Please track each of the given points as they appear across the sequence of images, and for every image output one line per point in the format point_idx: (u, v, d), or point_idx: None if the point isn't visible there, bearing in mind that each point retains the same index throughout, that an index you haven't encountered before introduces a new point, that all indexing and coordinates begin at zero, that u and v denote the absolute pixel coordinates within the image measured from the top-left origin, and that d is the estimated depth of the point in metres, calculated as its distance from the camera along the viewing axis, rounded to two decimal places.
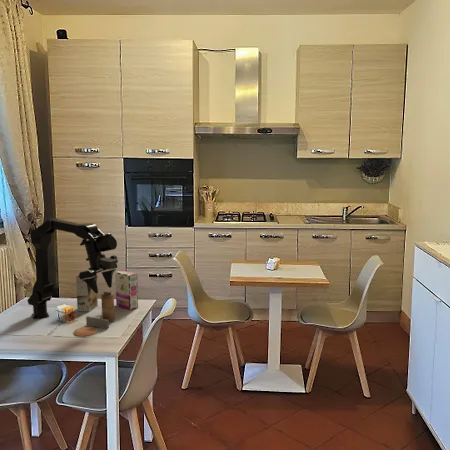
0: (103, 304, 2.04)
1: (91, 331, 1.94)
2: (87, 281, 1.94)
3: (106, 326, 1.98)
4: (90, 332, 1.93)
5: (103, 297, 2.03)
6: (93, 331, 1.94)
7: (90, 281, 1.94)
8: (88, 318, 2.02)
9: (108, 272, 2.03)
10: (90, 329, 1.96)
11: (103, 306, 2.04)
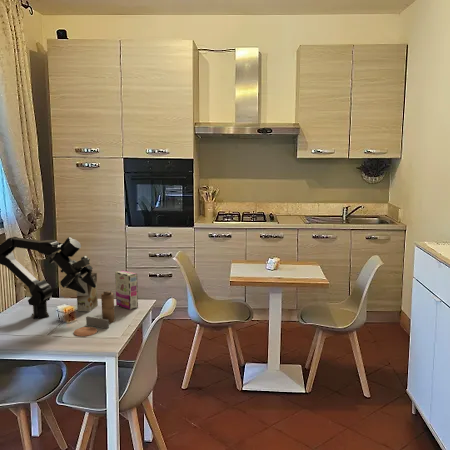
0: (103, 304, 2.04)
1: (91, 331, 1.94)
2: (71, 286, 2.01)
3: (106, 326, 1.98)
4: (90, 332, 1.93)
5: (103, 297, 2.03)
6: (93, 331, 1.94)
7: (73, 285, 2.02)
8: (88, 318, 2.02)
9: (86, 275, 2.12)
10: (90, 329, 1.96)
11: (103, 306, 2.04)
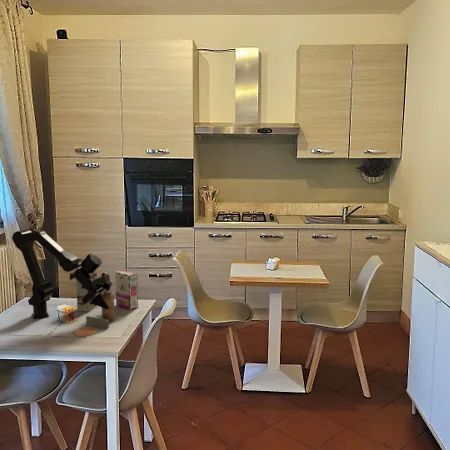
0: None
1: (91, 331, 1.94)
2: (94, 302, 2.02)
3: (106, 326, 1.98)
4: (90, 332, 1.93)
5: (103, 297, 2.03)
6: (93, 331, 1.94)
7: (97, 301, 2.03)
8: (88, 318, 2.02)
9: None
10: (90, 329, 1.96)
11: None
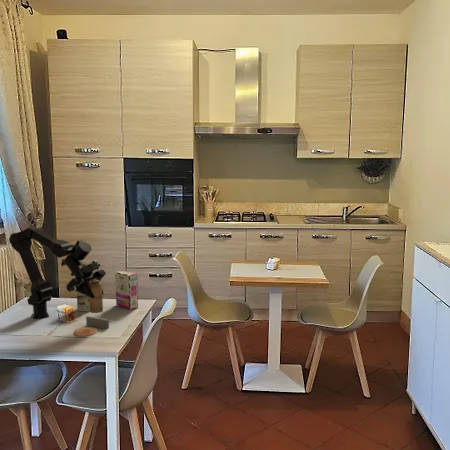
0: None
1: (91, 331, 1.94)
2: (80, 290, 1.96)
3: (106, 326, 1.98)
4: (90, 332, 1.93)
5: (90, 286, 1.96)
6: (93, 331, 1.94)
7: (83, 289, 1.96)
8: (88, 318, 2.02)
9: None
10: (90, 329, 1.96)
11: None
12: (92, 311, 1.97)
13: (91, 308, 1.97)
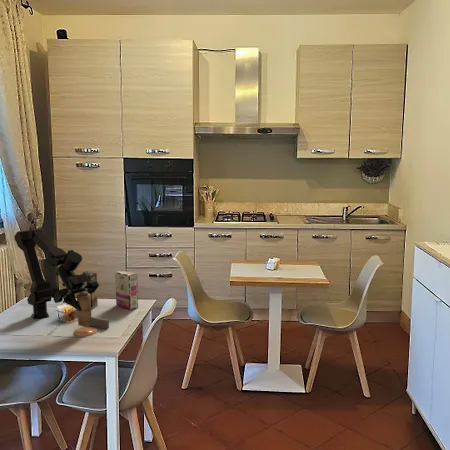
0: None
1: (91, 331, 1.94)
2: (68, 302, 1.91)
3: (106, 326, 1.98)
4: (90, 332, 1.93)
5: (77, 297, 1.91)
6: (93, 331, 1.94)
7: (71, 301, 1.91)
8: None
9: None
10: (90, 329, 1.96)
11: None
12: (79, 324, 1.92)
13: (79, 321, 1.92)
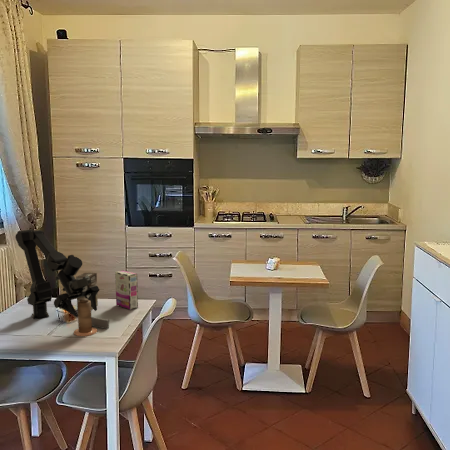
0: (78, 312, 1.92)
1: (91, 331, 1.94)
2: (65, 308, 1.90)
3: (106, 326, 1.98)
4: (90, 332, 1.93)
5: (77, 304, 1.91)
6: (93, 331, 1.94)
7: (67, 306, 1.90)
8: None
9: (90, 296, 1.98)
10: None
11: (78, 314, 1.92)
12: (80, 331, 1.92)
13: (79, 327, 1.92)
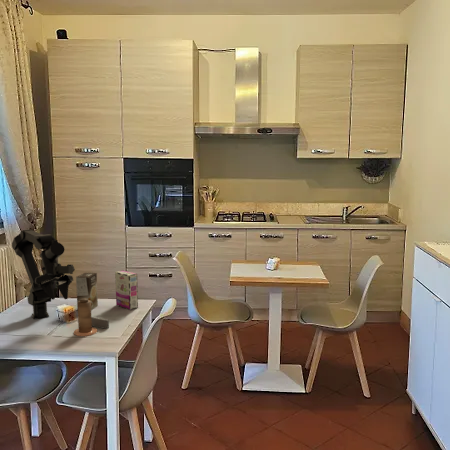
0: (78, 312, 1.92)
1: (91, 331, 1.94)
2: (43, 287, 1.92)
3: (106, 326, 1.98)
4: (90, 332, 1.93)
5: (77, 304, 1.91)
6: (93, 331, 1.94)
7: (47, 287, 1.93)
8: None
9: (64, 284, 2.03)
10: None
11: (78, 314, 1.92)
12: (80, 331, 1.92)
13: (79, 327, 1.93)
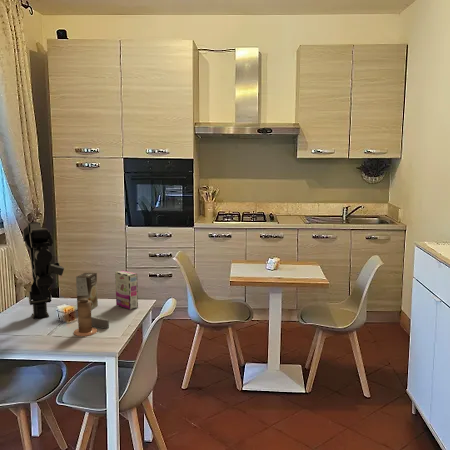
0: (78, 312, 1.92)
1: (91, 331, 1.94)
2: (40, 287, 1.92)
3: (106, 326, 1.98)
4: (90, 332, 1.93)
5: (77, 304, 1.91)
6: (93, 331, 1.94)
7: (43, 287, 1.93)
8: None
9: None
10: None
11: (78, 314, 1.92)
12: (80, 331, 1.92)
13: (79, 327, 1.92)
